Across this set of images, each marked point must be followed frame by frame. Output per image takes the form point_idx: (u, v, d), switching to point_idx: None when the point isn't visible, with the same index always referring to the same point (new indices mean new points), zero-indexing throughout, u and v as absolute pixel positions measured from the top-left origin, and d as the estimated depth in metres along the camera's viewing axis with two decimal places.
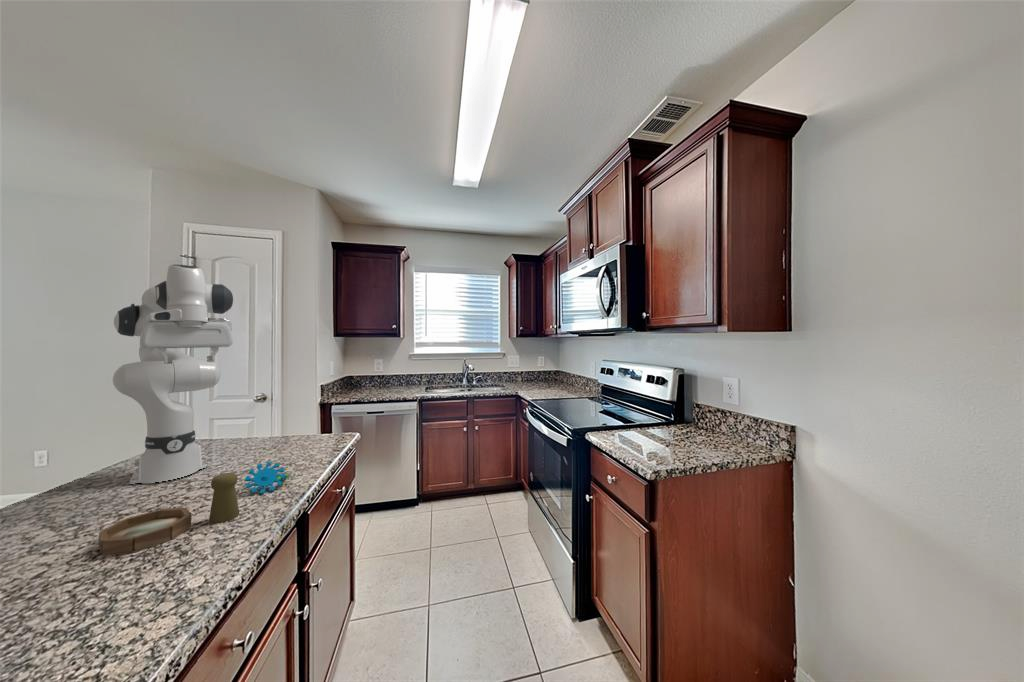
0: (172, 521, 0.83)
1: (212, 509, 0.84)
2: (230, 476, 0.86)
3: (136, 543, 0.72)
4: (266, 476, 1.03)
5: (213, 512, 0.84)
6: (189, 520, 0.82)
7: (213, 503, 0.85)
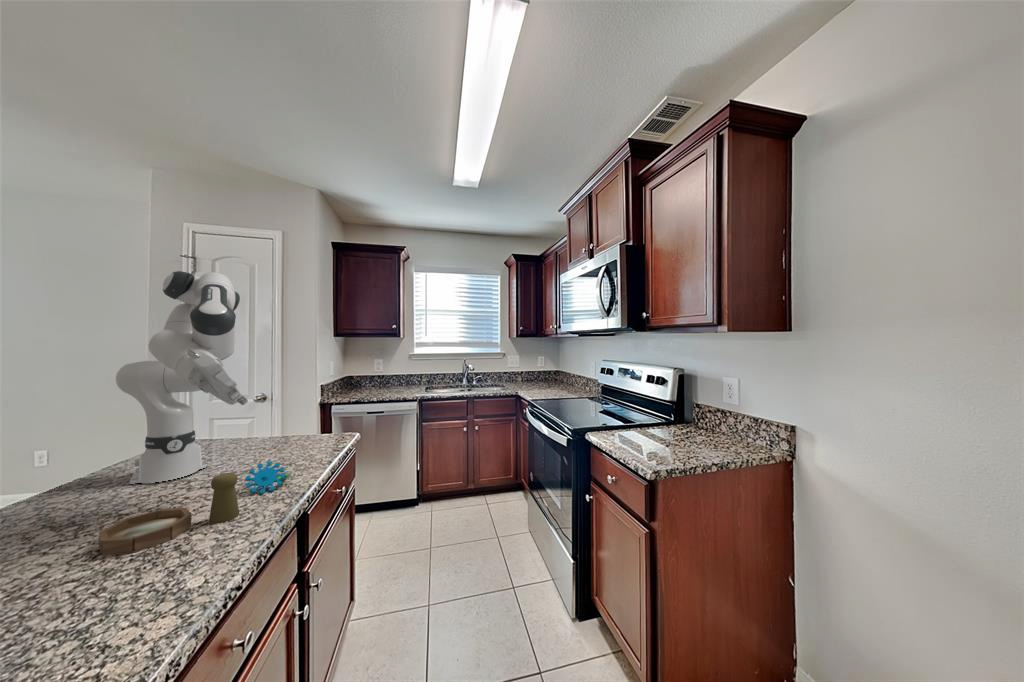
0: (172, 521, 0.83)
1: (212, 509, 0.84)
2: (230, 476, 0.86)
3: (136, 543, 0.72)
4: (266, 476, 1.03)
5: (213, 512, 0.84)
6: (189, 520, 0.82)
7: (213, 503, 0.85)
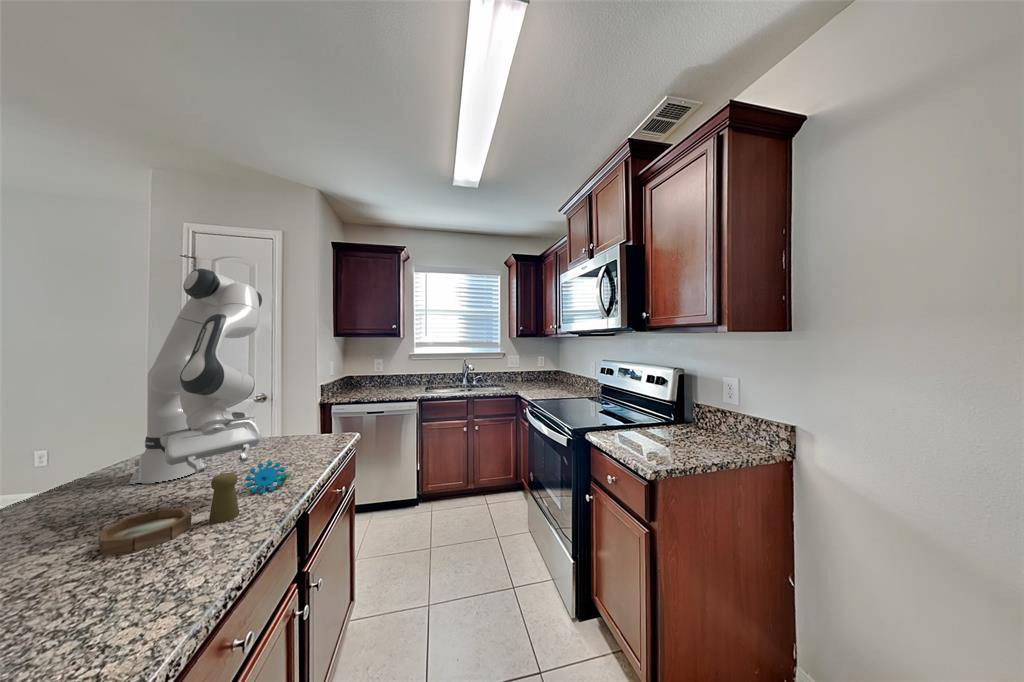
0: (172, 521, 0.83)
1: (212, 509, 0.84)
2: (230, 476, 0.86)
3: (136, 543, 0.72)
4: (266, 476, 1.03)
5: (213, 512, 0.84)
6: (189, 520, 0.82)
7: (213, 503, 0.85)
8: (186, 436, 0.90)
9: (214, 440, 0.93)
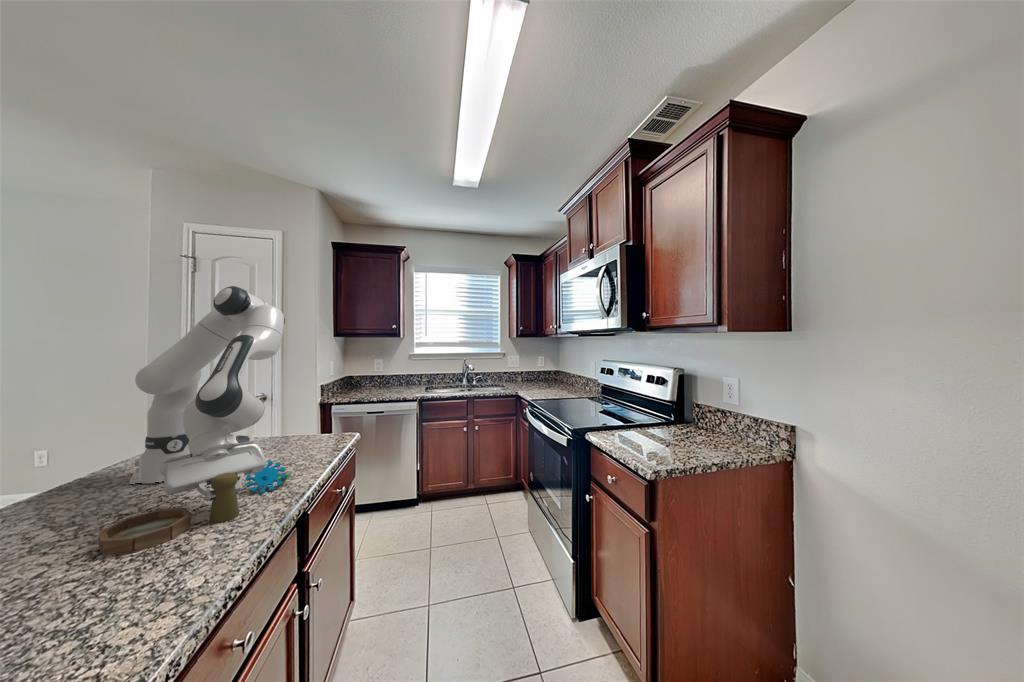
0: (172, 521, 0.83)
1: (212, 509, 0.84)
2: (230, 476, 0.86)
3: (136, 543, 0.72)
4: (266, 475, 1.03)
5: (213, 512, 0.84)
6: (189, 520, 0.82)
7: (213, 503, 0.85)
8: (187, 463, 0.85)
9: (216, 467, 0.88)
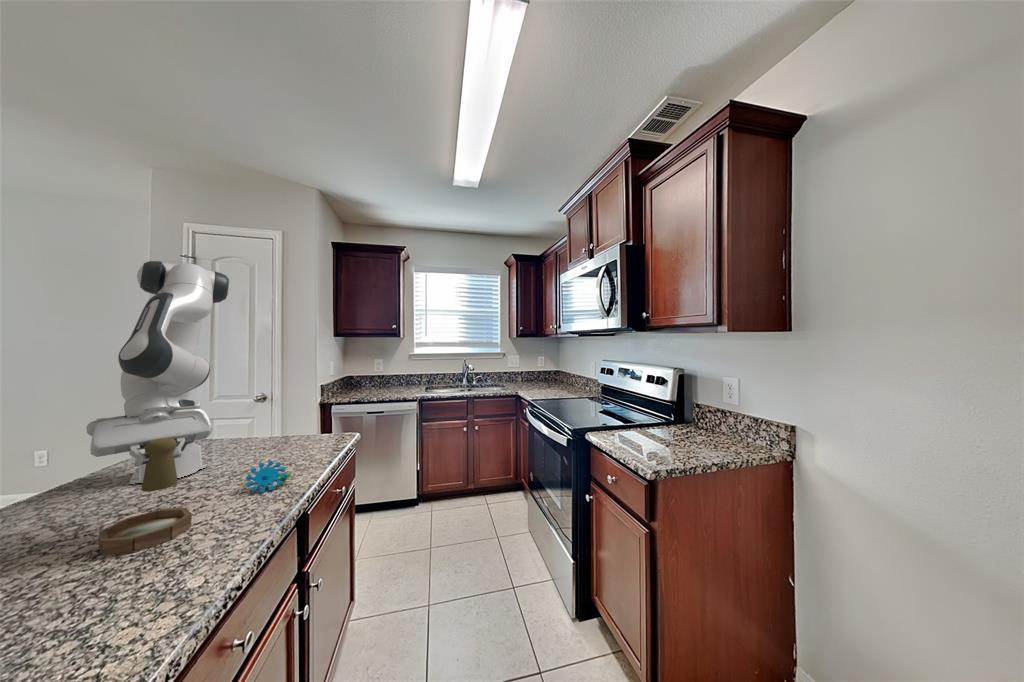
0: (172, 521, 0.83)
1: (145, 476, 0.78)
2: (167, 440, 0.80)
3: (136, 543, 0.72)
4: (267, 475, 1.04)
5: (146, 479, 0.77)
6: (189, 520, 0.82)
7: (146, 469, 0.78)
8: (119, 424, 0.78)
9: (153, 430, 0.81)
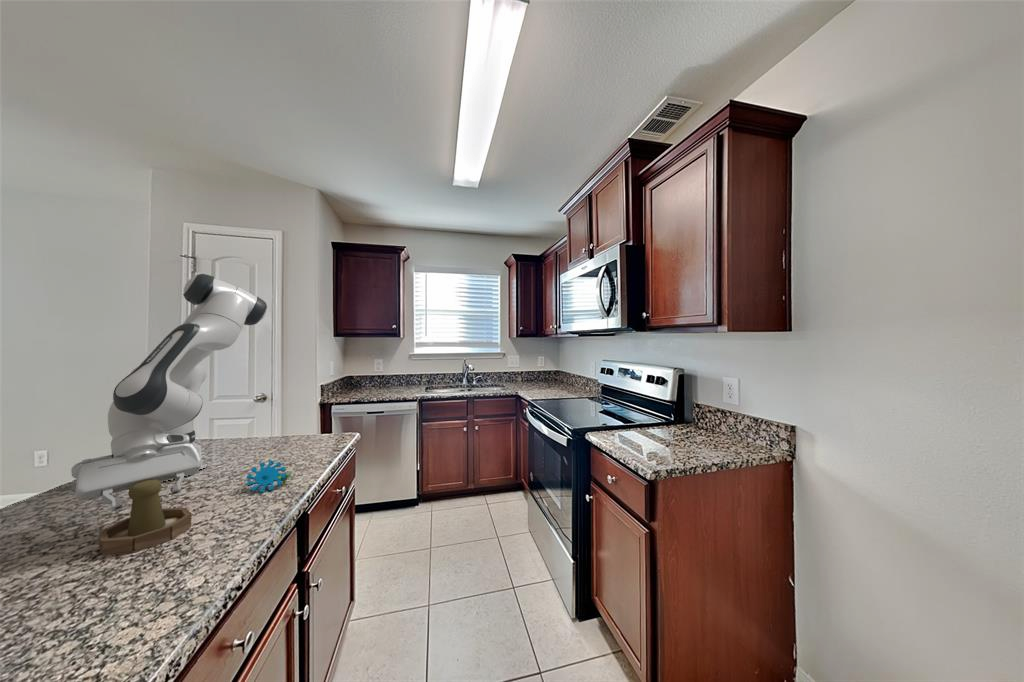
0: (172, 521, 0.83)
1: (131, 521, 0.76)
2: (151, 483, 0.78)
3: (136, 543, 0.72)
4: (267, 475, 1.04)
5: (131, 524, 0.76)
6: (189, 520, 0.82)
7: (132, 514, 0.77)
8: (105, 465, 0.77)
9: (140, 469, 0.80)
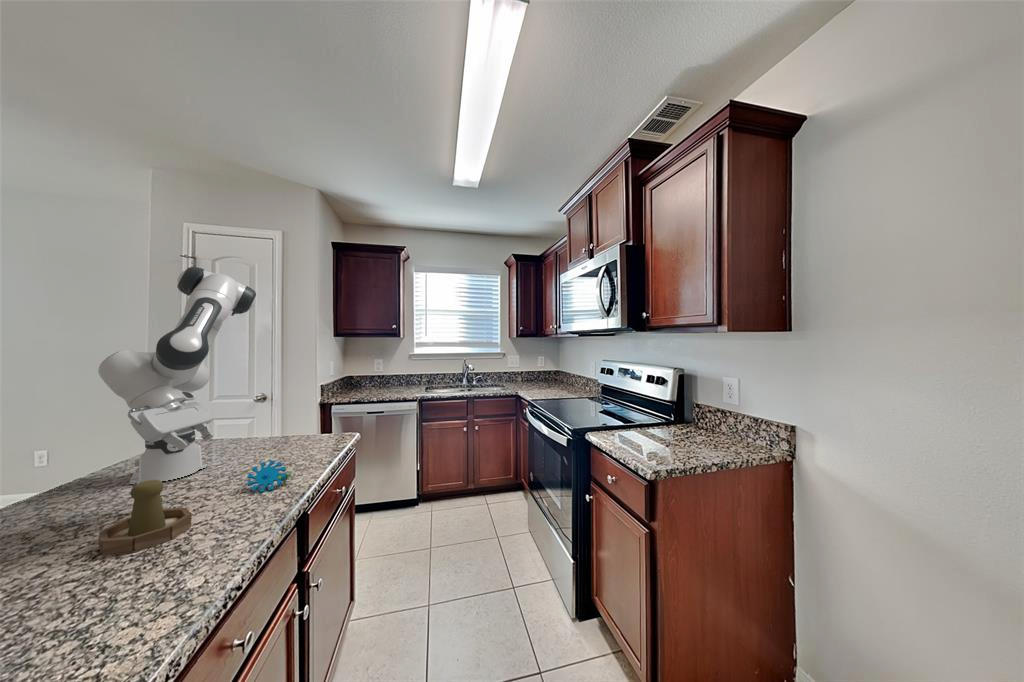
0: (172, 521, 0.83)
1: (131, 520, 0.77)
2: (154, 484, 0.79)
3: (136, 543, 0.72)
4: (267, 475, 1.04)
5: (132, 524, 0.76)
6: (189, 520, 0.82)
7: (133, 514, 0.77)
8: (157, 413, 0.84)
9: (182, 418, 0.89)
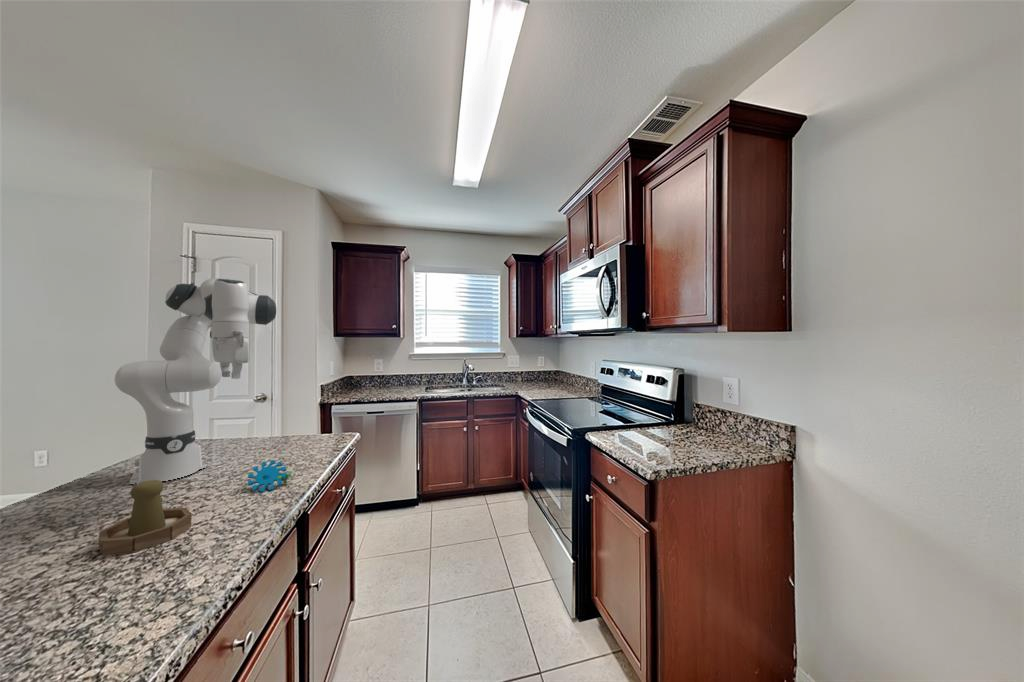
0: (172, 521, 0.83)
1: (131, 520, 0.77)
2: (154, 484, 0.79)
3: (136, 543, 0.72)
4: (267, 474, 1.04)
5: (132, 524, 0.76)
6: (189, 520, 0.82)
7: (133, 514, 0.77)
8: None
9: None
